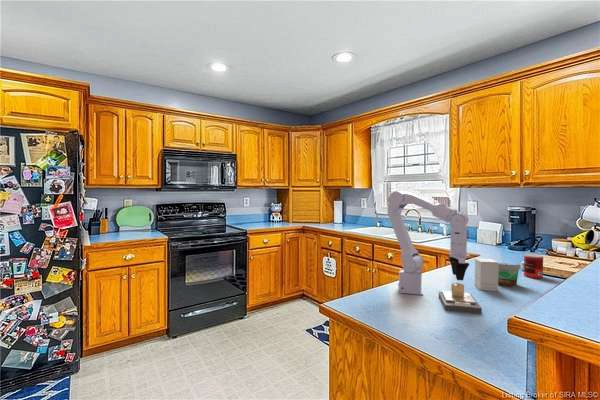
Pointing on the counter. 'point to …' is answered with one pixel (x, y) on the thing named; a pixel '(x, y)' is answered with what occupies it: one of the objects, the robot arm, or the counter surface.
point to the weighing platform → (450, 298)
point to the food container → (508, 274)
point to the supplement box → (486, 274)
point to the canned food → (533, 266)
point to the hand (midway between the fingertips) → (457, 277)
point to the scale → (460, 305)
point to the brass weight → (457, 290)
